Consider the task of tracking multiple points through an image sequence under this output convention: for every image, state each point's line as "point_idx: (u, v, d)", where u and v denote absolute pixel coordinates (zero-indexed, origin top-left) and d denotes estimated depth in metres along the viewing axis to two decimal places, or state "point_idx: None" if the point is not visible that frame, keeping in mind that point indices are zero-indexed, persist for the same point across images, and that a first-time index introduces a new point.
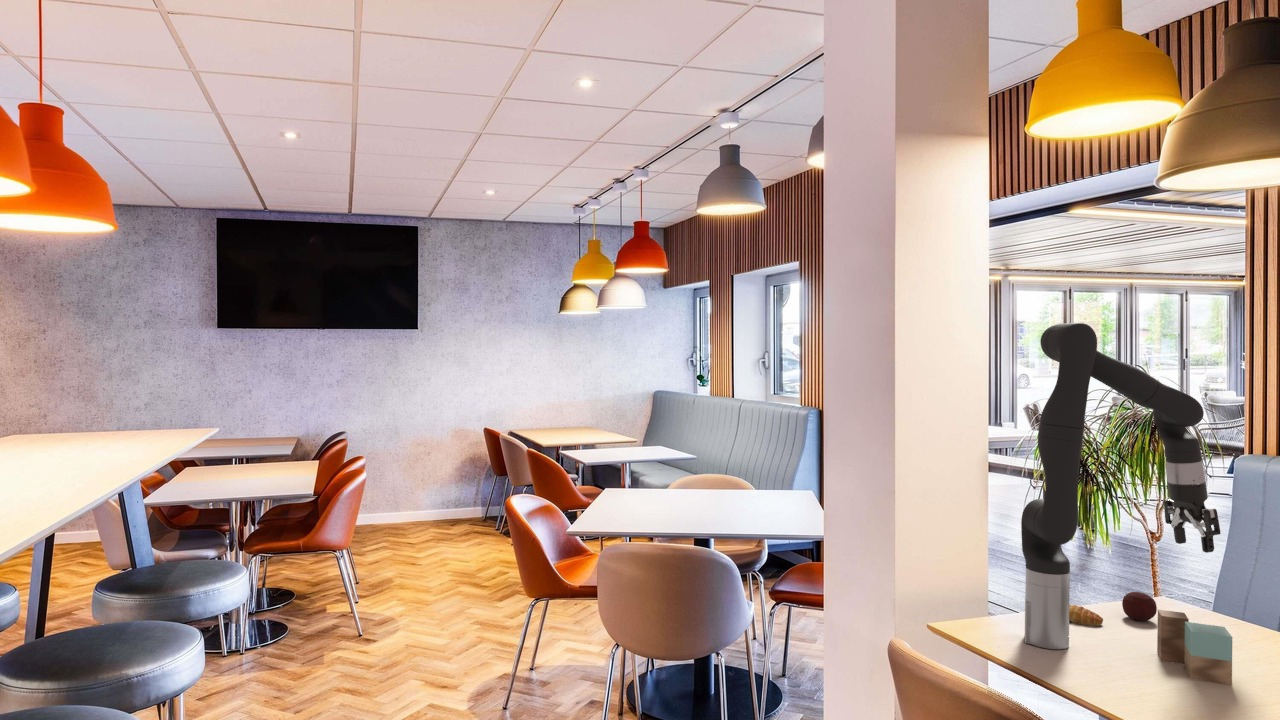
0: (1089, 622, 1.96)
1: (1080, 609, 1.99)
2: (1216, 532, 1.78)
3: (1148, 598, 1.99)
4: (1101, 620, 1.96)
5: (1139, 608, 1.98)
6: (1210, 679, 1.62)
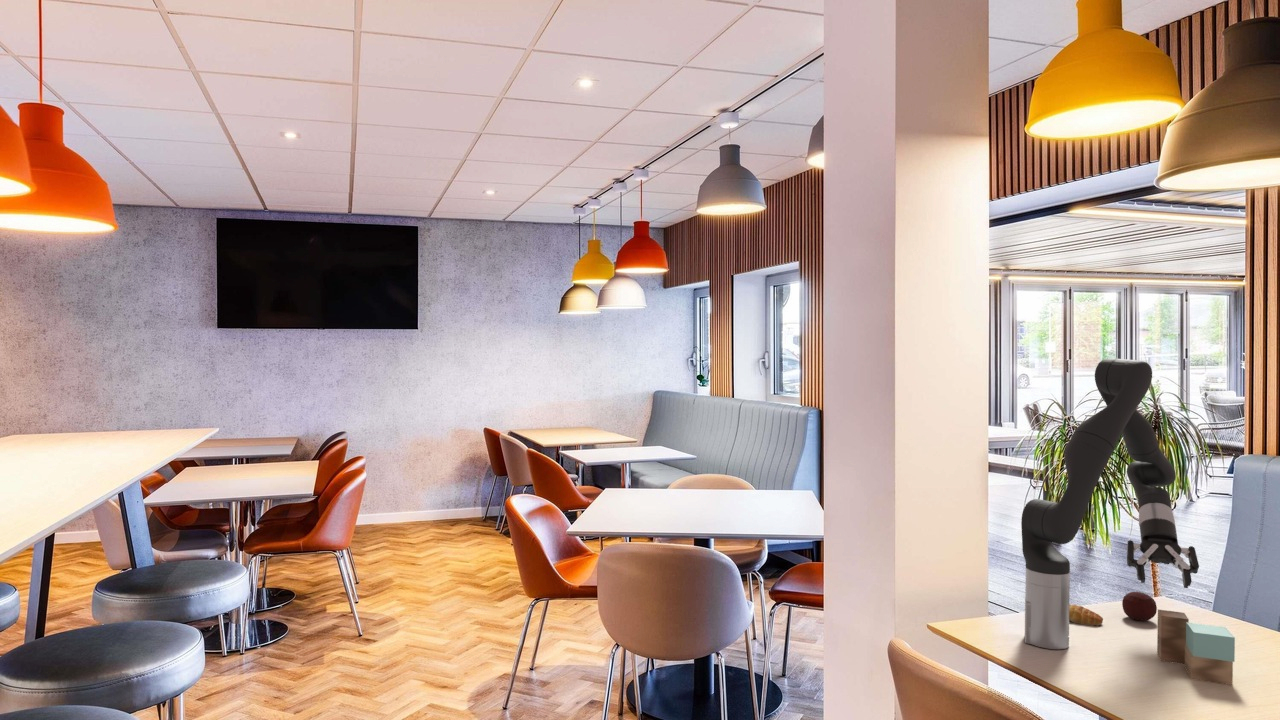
0: (1090, 621, 1.96)
1: (1080, 609, 1.99)
2: None
3: (1148, 598, 1.99)
4: (1101, 620, 1.96)
5: (1139, 608, 1.98)
6: (1211, 679, 1.62)
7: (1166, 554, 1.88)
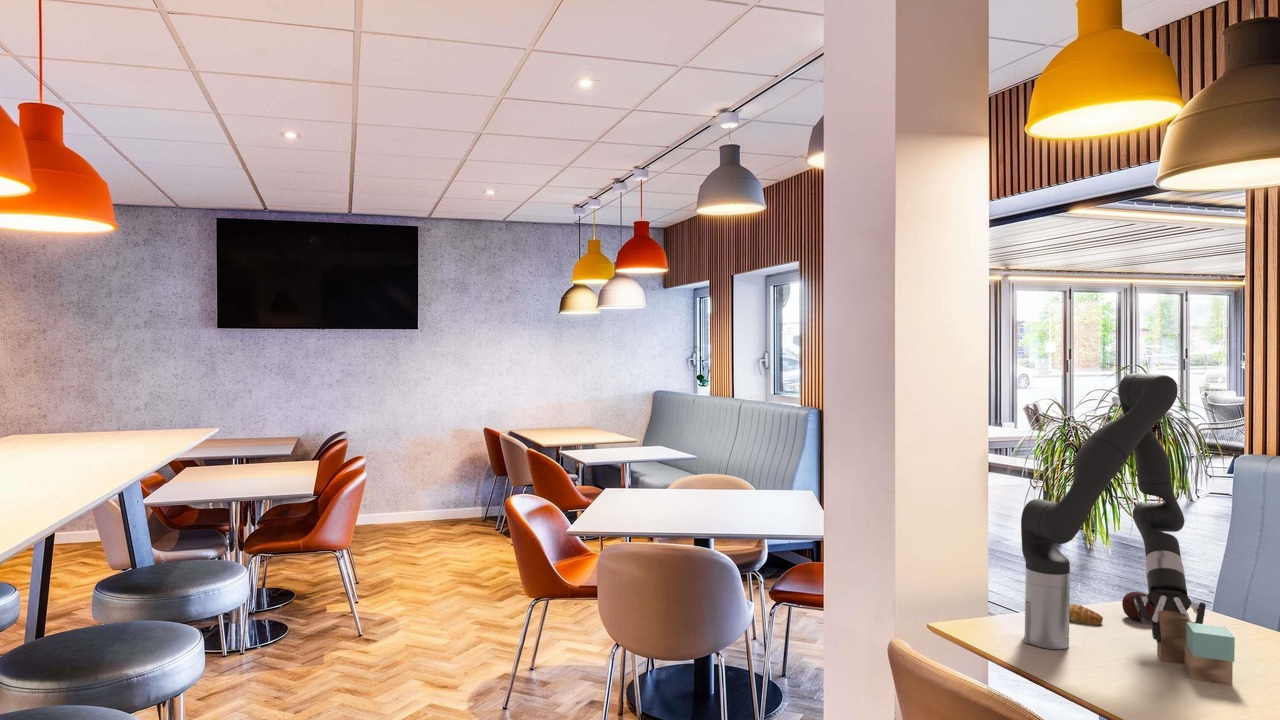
0: (1090, 621, 1.97)
1: (1080, 608, 2.00)
2: None
3: None
4: (1101, 619, 1.97)
5: None
6: (1210, 679, 1.62)
7: (1173, 606, 1.77)
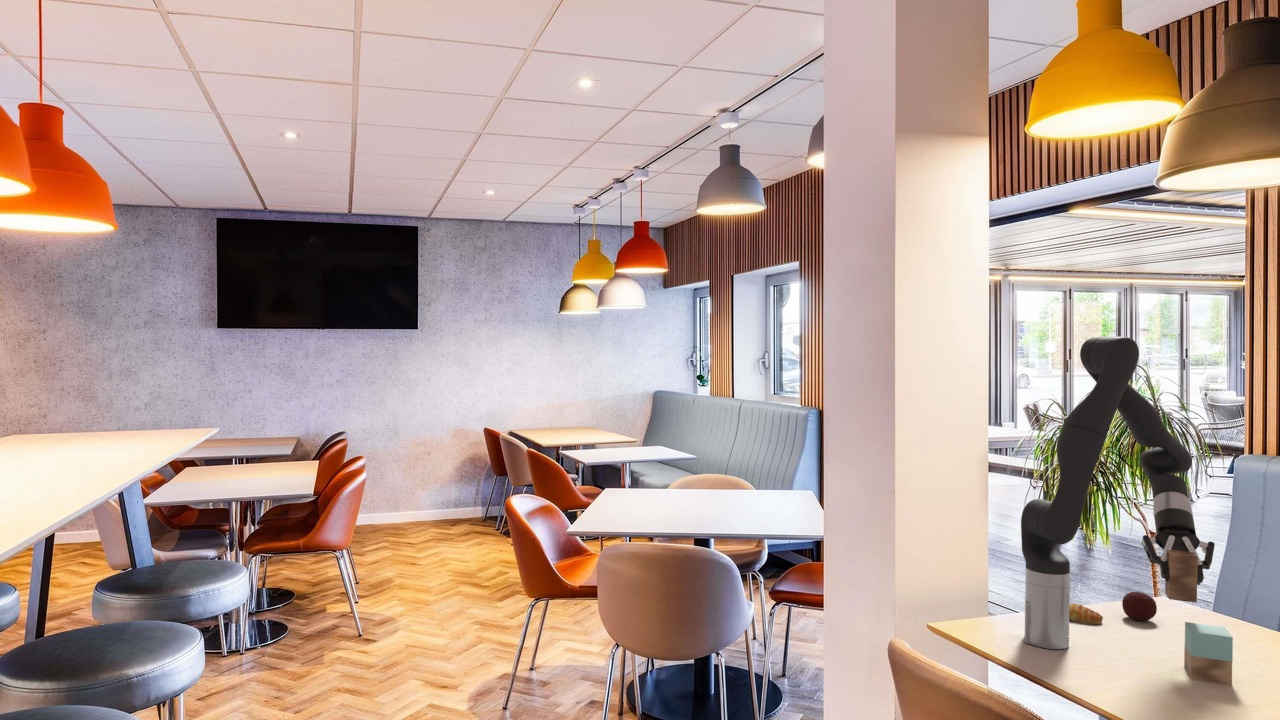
0: (1090, 620, 1.97)
1: (1080, 607, 2.00)
2: None
3: (1148, 598, 1.99)
4: (1101, 618, 1.97)
5: (1139, 608, 1.98)
6: (1210, 679, 1.62)
7: (1181, 545, 1.75)
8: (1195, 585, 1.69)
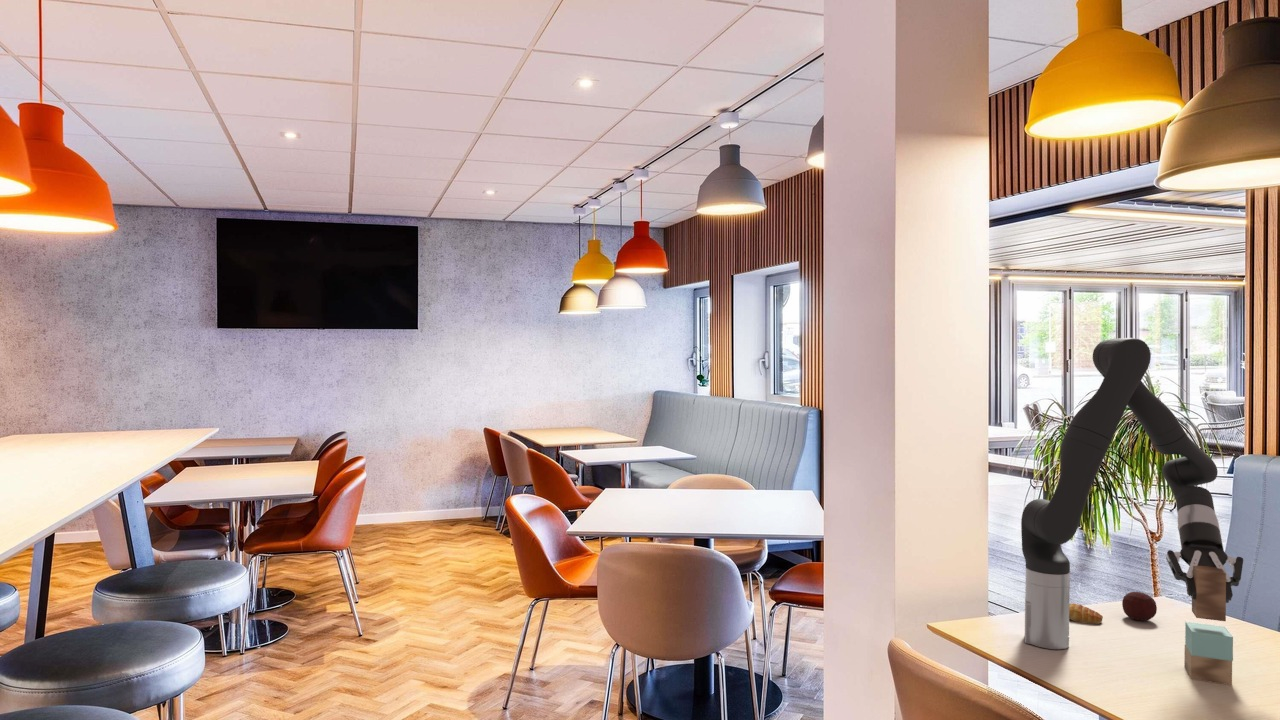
0: (1090, 620, 1.97)
1: (1080, 607, 2.00)
2: None
3: (1148, 598, 1.99)
4: (1101, 618, 1.98)
5: (1139, 608, 1.98)
6: (1210, 679, 1.62)
7: (1208, 561, 1.68)
8: (1224, 603, 1.62)
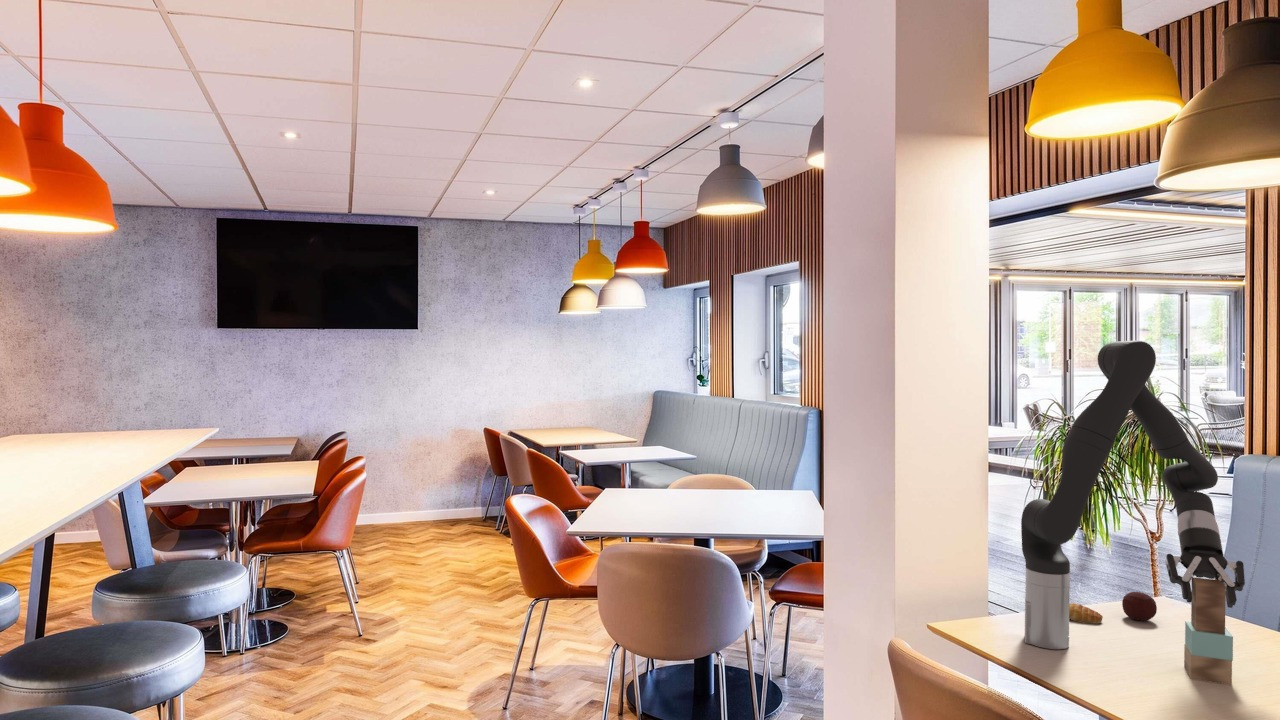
0: (1090, 619, 1.98)
1: (1080, 607, 2.01)
2: None
3: (1148, 598, 1.99)
4: (1101, 617, 1.98)
5: (1139, 608, 1.98)
6: (1210, 679, 1.62)
7: (1209, 567, 1.68)
8: (1223, 616, 1.62)
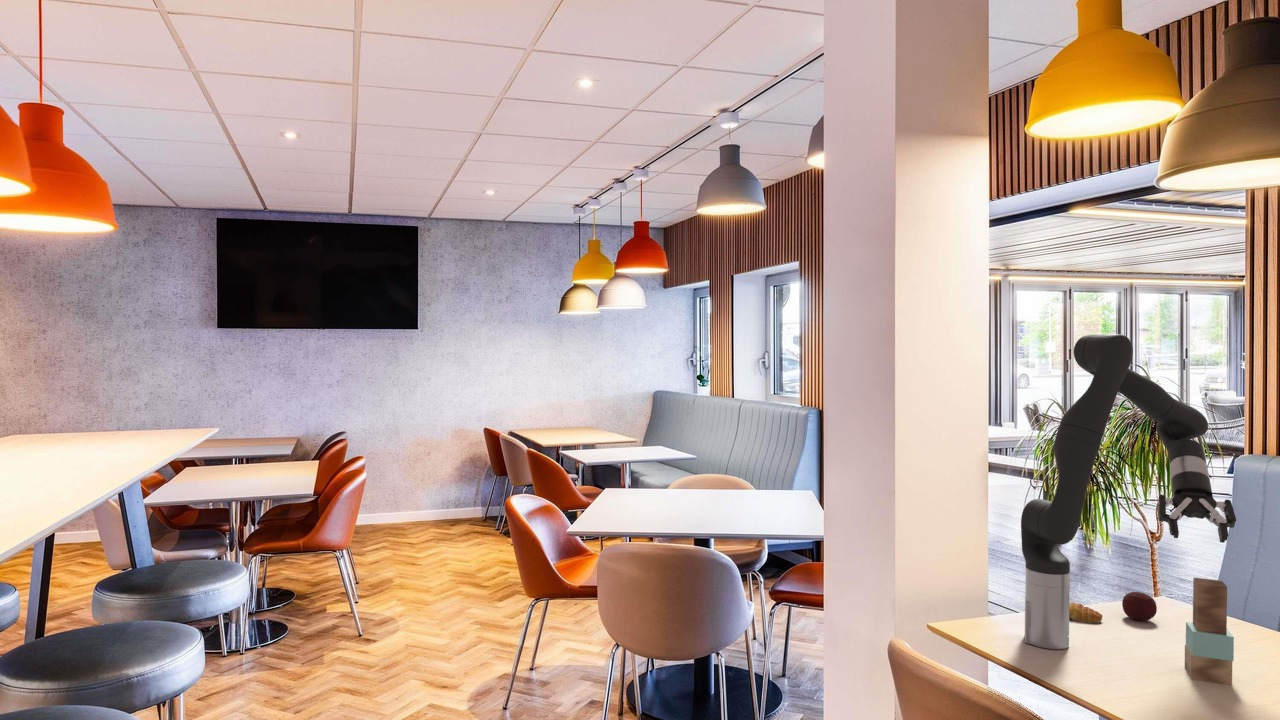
0: (1090, 619, 1.98)
1: (1080, 606, 2.01)
2: None
3: (1148, 598, 1.99)
4: (1101, 617, 1.99)
5: (1139, 608, 1.98)
6: (1210, 679, 1.62)
7: (1200, 508, 1.77)
8: (1225, 617, 1.62)
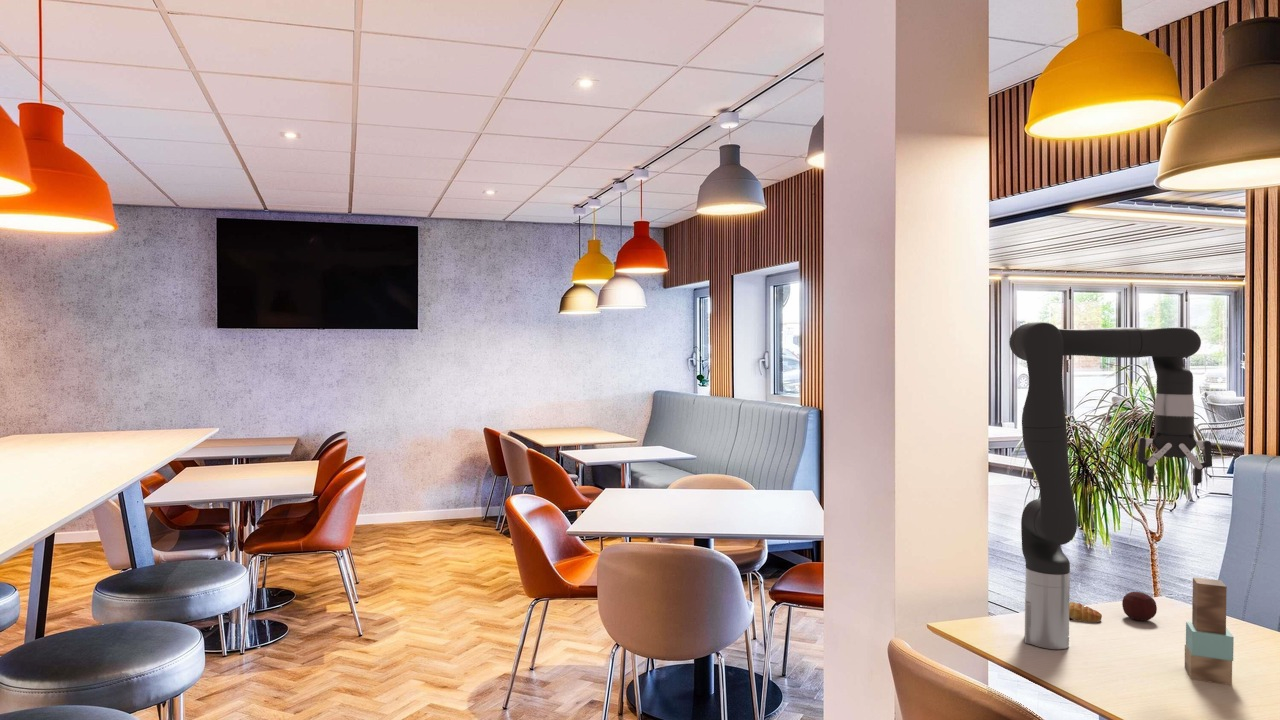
0: (1090, 618, 1.99)
1: (1079, 606, 2.02)
2: None
3: (1148, 598, 1.99)
4: (1100, 616, 1.99)
5: (1139, 608, 1.98)
6: (1210, 679, 1.62)
7: (1179, 452, 1.80)
8: (1224, 616, 1.62)
